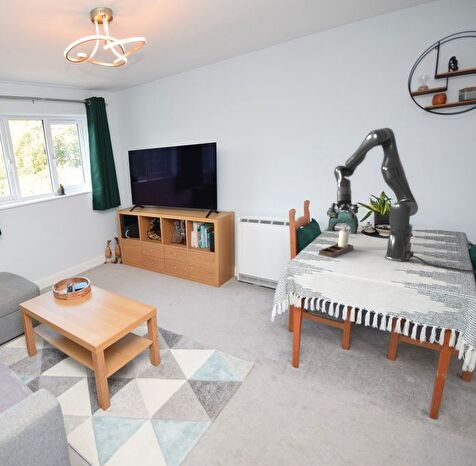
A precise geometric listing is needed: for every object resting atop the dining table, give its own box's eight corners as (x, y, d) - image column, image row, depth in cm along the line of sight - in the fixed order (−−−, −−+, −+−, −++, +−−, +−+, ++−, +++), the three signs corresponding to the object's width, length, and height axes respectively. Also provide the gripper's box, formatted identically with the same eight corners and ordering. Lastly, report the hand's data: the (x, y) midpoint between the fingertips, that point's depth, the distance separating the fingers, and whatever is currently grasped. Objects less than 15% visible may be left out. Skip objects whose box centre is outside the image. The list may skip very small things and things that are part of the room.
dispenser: (349, 249, 195) (351, 224, 191) (344, 250, 193) (347, 226, 188) (340, 247, 199) (342, 223, 195) (336, 249, 197) (338, 225, 193)
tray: (353, 249, 194) (353, 245, 194) (332, 258, 184) (332, 253, 184) (339, 246, 201) (339, 242, 200) (318, 254, 191) (319, 250, 190)
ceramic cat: (324, 230, 237) (326, 205, 232) (328, 228, 241) (330, 203, 235) (355, 234, 221) (358, 207, 216) (358, 232, 225) (361, 205, 220)
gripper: (334, 192, 196) (334, 217, 193) (359, 193, 193) (360, 218, 190) (329, 196, 204) (329, 220, 201) (353, 197, 200) (354, 221, 197)
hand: (344, 219), depth 195 cm, fingers open, 8 cm apart
